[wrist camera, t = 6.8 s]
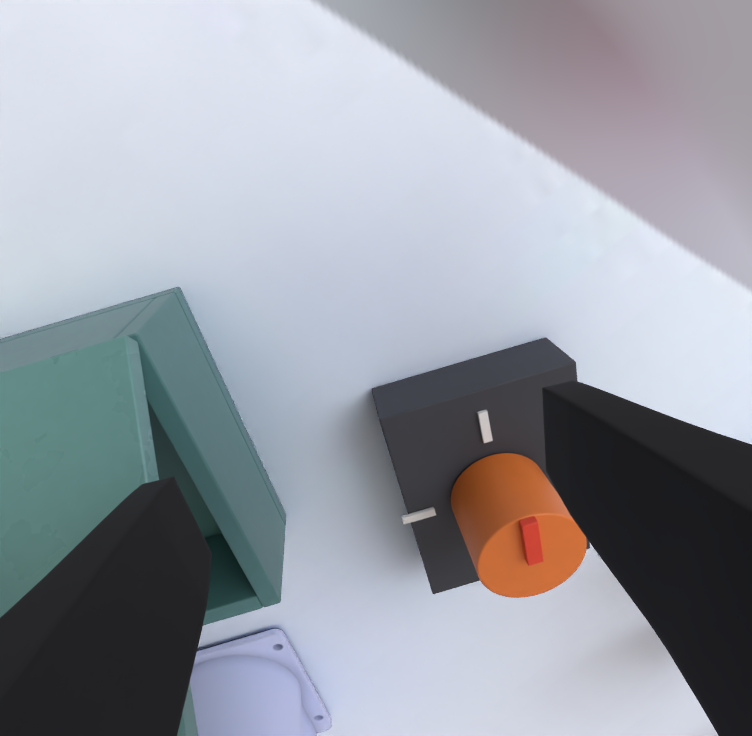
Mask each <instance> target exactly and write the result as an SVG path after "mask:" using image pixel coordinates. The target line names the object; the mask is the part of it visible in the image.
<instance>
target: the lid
mask: <svg viewBox="0 0 752 736" xmlns="http://www.w3.org/2000/svg"><path fill="white" fill-rule="evenodd" d="M157 480H159V476H158V470H157V463H156V457H155V451H154V444H153V438H152V431H151V425H150V418H149V412H148V405H147V399H146V392H145V386H144V379H143V373H142V366H141V360H140V353H139V347H138V342H137V341H135V340H133V339H132V338H130V337H128V336H121V337H118V338H114V339H111V340H107V341H104V342H101V343H97V344H94V345H90V346H87V347H84V348H80V349H77V350H73V351H70V352H67V353H63V354H60V355H56V356H53V357H50V358H46V359H43V360H39V361H36V362H33V363H29V364H26V365H22V366H19V367H16V368H12V369H9V370H5V371H2V372H0V618H1V617H2V616H3V615H4V614H5V613H6V612H7V611H8V610H9V609H10V608H11V607H13V606H14V605H15V604H16V603H17V602H18V601H19V600H20V599H21V598H22V597H23V596H24V595H26V594H27V593H28V592H29V591H30V590H31V589H32V588H33V587H34V586H35V585H36V584H37V583H39V582H40V581H41V580H42V579H43V578H44V577H45V576H46V575H47V574H48V573H49V572H50V571H51V570H52V569H53V568H54V567H55V566H56V565H57V564H58V563H59V562H60V561H61V560H62V559H63V558H64V557H66V556H67V555H68V554H69V553H70V552H71V551H72V550H73V549H74V548H75V547H76V546H77V545H78V544H79V543H80V542H81V541H82V540H83V539H84V538H85V537H86V536H87V535H88V534H89V533H90V532H91V531H92V530H93V529H94V528H95V527H96V526H97V525H98V524H99V523H100V522H101V521H102V520H103V519H104V518H105V517H106V516H107V515H108V514H109V513H110V512H112V511H113V510H114V509H115V508H116V507H117V506H118V505H119V504H120V503H121V502H122V501H123V500H124V499H125V498H126V497H127V496H129V495H130V494H131V493H132V492H133V491H134V490H136V489H137V488H138V487H139V486H140V485H142V484H144V483H149V482H153V481H157ZM177 736H198V729H197V723H196V716H195V710H194V704H193V697H192V691H191V684H190V683H189V687H188V691H187V695H186V700H185V704H184V708H183V713H182V717H181V721H180V725H179V730H178V734H177Z"/></svg>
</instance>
